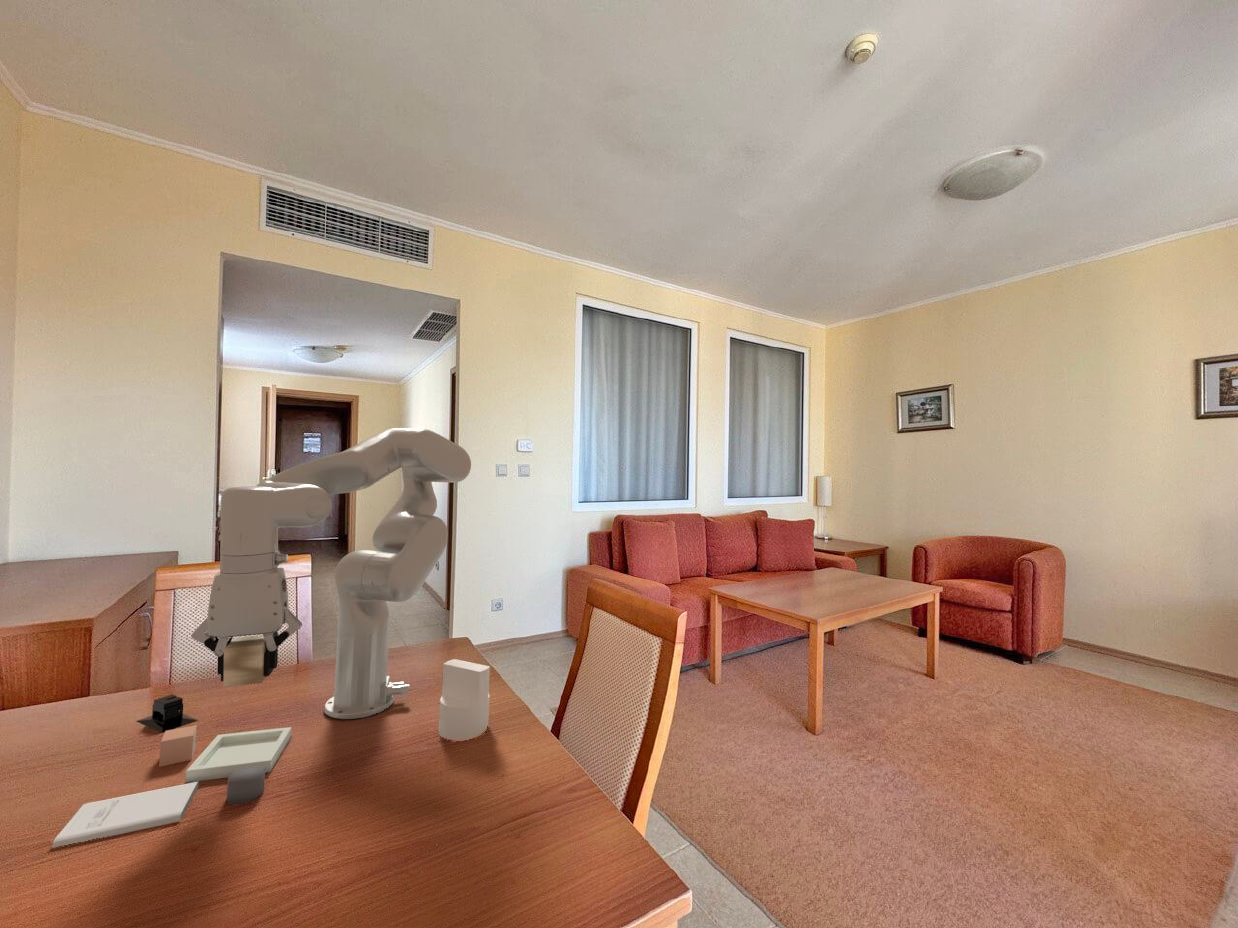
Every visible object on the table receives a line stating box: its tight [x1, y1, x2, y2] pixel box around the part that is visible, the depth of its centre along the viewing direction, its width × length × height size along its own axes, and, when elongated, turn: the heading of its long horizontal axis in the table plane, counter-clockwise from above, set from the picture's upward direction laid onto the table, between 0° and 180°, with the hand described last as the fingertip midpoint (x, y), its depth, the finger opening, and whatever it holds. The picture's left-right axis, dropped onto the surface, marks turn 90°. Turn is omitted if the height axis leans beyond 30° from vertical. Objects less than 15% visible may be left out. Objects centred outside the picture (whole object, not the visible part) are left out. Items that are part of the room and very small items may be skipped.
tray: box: [185, 726, 293, 784], centre depth 83 cm, size 11×11×2 cm
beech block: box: [222, 634, 267, 688], centre depth 81 cm, size 5×5×6 cm
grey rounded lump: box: [226, 766, 266, 805], centre depth 74 cm, size 4×4×3 cm
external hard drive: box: [52, 781, 199, 849], centre depth 69 cm, size 2×8×12 cm
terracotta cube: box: [158, 724, 198, 768], centre depth 83 cm, size 4×4×4 cm
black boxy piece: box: [135, 693, 199, 734], centre depth 94 cm, size 12×7×5 cm, turn 66°
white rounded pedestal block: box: [438, 658, 491, 740], centre depth 95 cm, size 9×9×12 cm
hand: (248, 674), depth 81 cm, fingers closed on beech block, 5 cm apart
